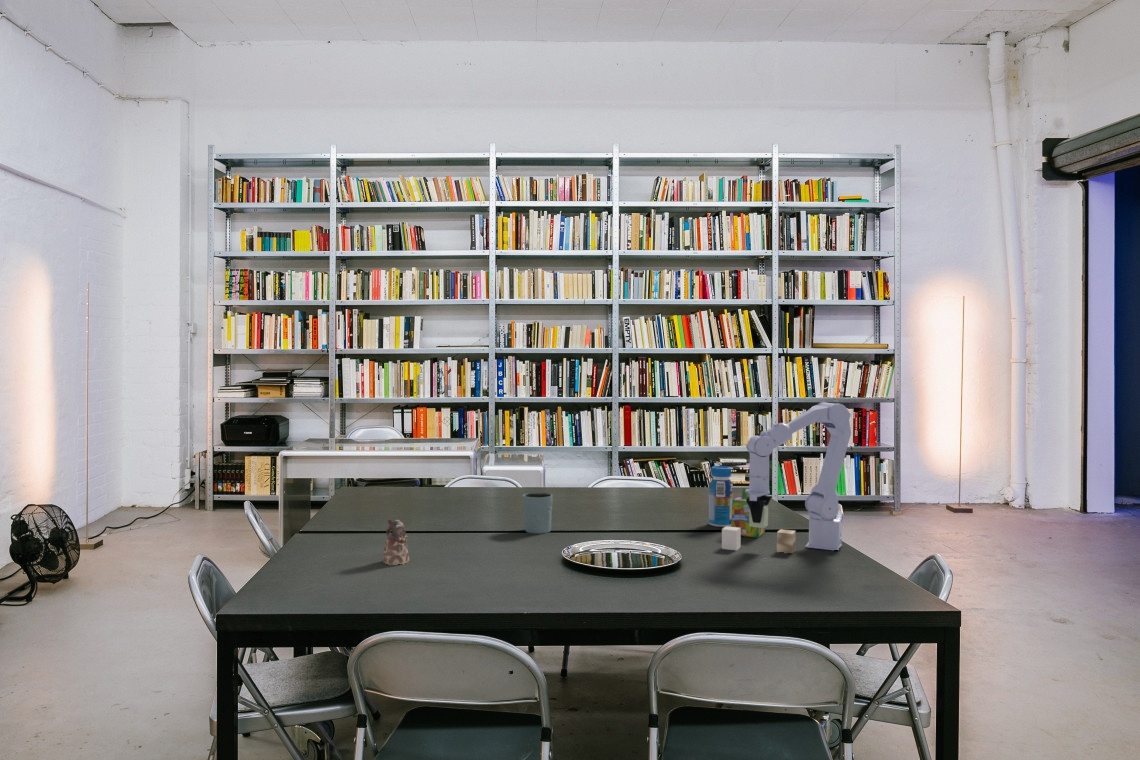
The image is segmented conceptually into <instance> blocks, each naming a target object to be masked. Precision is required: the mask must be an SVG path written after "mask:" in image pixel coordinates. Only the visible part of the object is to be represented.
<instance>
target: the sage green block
mask: <svg viewBox="0 0 1140 760" xmlns="http://www.w3.org/2000/svg"><path fill="white" fill-rule="evenodd" d="M768 525H769V504H768V505H764V507H763V511H762V518H761V522H760V523H753V520H752V516H751V511H749V526H750V527H759V528H765V529H766V527H768Z"/></svg>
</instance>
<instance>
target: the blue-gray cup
mask: <svg viewBox="0 0 1140 760" xmlns="http://www.w3.org/2000/svg"><path fill="white" fill-rule="evenodd" d="M553 502H554V501H553V494H552V493H550V492H527V493H523V494H522V503H523V515H524V517H523V518H524V530H525V532H526V533H529V534H546V533H550V532H551V531H552V513H553Z"/></svg>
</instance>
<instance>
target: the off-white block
mask: <svg viewBox="0 0 1140 760" xmlns="http://www.w3.org/2000/svg"><path fill="white" fill-rule="evenodd" d="M741 537H742V536H741V528H738V527H731V526H726V527H722V528H721V549H722V550H729V551H738V550H739V549H741V546H742V545H741V541H742V540H741V539H742V538H741Z"/></svg>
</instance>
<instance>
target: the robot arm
mask: <svg viewBox="0 0 1140 760" xmlns="http://www.w3.org/2000/svg"><path fill="white" fill-rule="evenodd" d="M851 415H852V414H851V413H850V411H849V410H848V407H846V406H845V405H844V404H843V403H830V402H826V401H822V402H819V403H818V404H816V405H813V406H811V408H809V409H808V410H806V411H805V412H803V413H801V414H800V415H798V416H797V417H795V418H793V419H792V420H791V421H789V422H787V423H784V422H779V423H778V422H776V423H774V424H773V425H772V427H770V428H769V429H767V430H762V431H760V434H759V435H753V436H751V437H750V438H749V439H748V441H747V443H746V444H745V447H746V450H747V452H748V453H749V482H748V483H749V484H748V485H749V488H748V489H746V490H745V492H747V493H748V494H749V496H750V498H747V499H746V502H747V504H748V506H749V508H750V511H751V516H752V520H753V523H760V522H761V518H762V511H763V507H764V505H768V506H769V504H770V501H771V500H772V495H770V493H771V492H770V456H771V454H772V453H773V450H774V449H776V448H778V447H779V446H781V445H783V444H785V443H786V442H788V441H790V440H791V439H792V437H793V434H794V433H797V432H798V431H800V430H802V429H804V428H806V427H808V426H810V425H812V424H814V423H820V424H822V425H823V426H824V427H825V428H826V429H827V431H828V433H829V434H830V438H829V442H828V445H827V449H826V453H825V456H824V460H823V463H822V467H821V471H820V473H819V478H818V481H817V484H816V485H815V486H813V487H812V488H811V490H810V493H809V495H808V496H807V497H806V498H805V502H804V506H805V509H806V510H807V512H808V516H809V519H808V542H807V544H806V545H805V548H811V549H820V550H827V551H829V550H830V551H834V550H838V551H839V550H840V549H839V548H841V547H842V546H843V544H842V540H843V537H842V535H843V534H842V532H843V531H842V530H843V527H842V525H843V524H842V523H843V522H842V520H841V519H837V518H835V517H836V516H837V515H838V514H839V509H840V508H839V507H840V506H839V499H840V495H839V493H838V491H837V486H838V483H839V479H840V475H841V472H842V467H843V465H844V462H845V457H846V453H847V450H848V447H849V443H850V439H851V436H852V429H851V424H850V418H851Z"/></svg>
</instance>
